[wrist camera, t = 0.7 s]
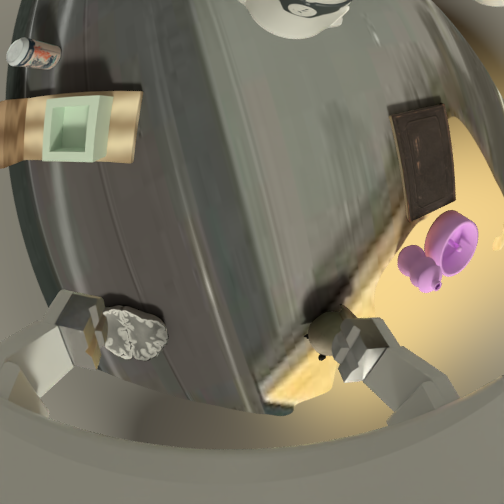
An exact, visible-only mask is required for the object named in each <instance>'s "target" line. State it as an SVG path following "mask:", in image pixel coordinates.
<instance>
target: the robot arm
mask: <svg viewBox="0 0 504 504" xmlns="http://www.w3.org/2000/svg"><path fill="white" fill-rule="evenodd" d="M238 1H239V2H241V3H242V4H244V5H245V6H246V8H247V9H248V11H249V13H250V15H251V16H252V18H253V19H254V20H255V21H256V23H257V24H259V25H260V26H261V27H262V28H264V29H265V30H267V31H268V32H270V33H272V34H275V35H277V36H280V37H284V38H290V39H303V38H308V37H312V36H314V35H316V34H318V33H320V32H321V31H323V30H324V29H326V28H331V27H337V26H339V25H341V24H342V16H343V15H344V14H345V13H346V12H347V11H348V10H349V6H348V4H350V2H351V1H352V0H238ZM474 1H476V2H478V3H480V4H483V5H487V6H495V7H504V0H474ZM104 309H105V305H104V300H103V298H101V297H97V296H92V295H87V294H83V293H78V292H72V291H67V290H61V291H60V292H59V293H58V294H57V296H56V297H55V299H54V301H53V302H52V304H51V305H50V307H49V308H48V310H47V312H46V314H45V315H44V317H43V318H42V320H41V321H35V322H33V323H32V324H30V325H28V326H26V327H25V328H23V329H21V330H20V331H18V332H16V333H15V334H13V335H11V336H9V337H8V338H6V339H4V340H3V341H1V342H0V504H504V375H501V376H499V377H498V378H496V379H494V380H493V381H491V382H489V383H487V384H486V385H484V386H482V387H480V388H479V389H477V390H475V391H473V392H471V393H469V394H467V395H465V396H463V397H461V398H460V397H459V395H458V394H457V392H456V390H455V389H454V387H453V386H452V384H451V382H450V381H449V379H448V377H447V376H446V375H445V374H444V373H442V372H441V371H439V370H438V369H436V368H435V367H433V366H432V365H430V364H429V363H427V362H426V361H425V360H423V359H422V358H420V357H418V356H417V355H416V354H414V353H413V352H411V351H410V350H408V349H407V348H405V347H404V346H401V347H400V345H399V344H398V342H397V341H396V339H395V337H394V336H393V334H392V333H391V331H390V330H389V328H388V327H387V325H386V324H385V322H384V321H383V319H381V318H346V319H345V320H344V321H343V322H342V324H341V326H340V328H341V331H340V332H339V333H338V334H336V335H335V337H334V339H333V341H332V348H331V349H332V355H333V357H334V360H335V361H337V362H338V363H339V364H340V365H339V368H338V370H339V372H340V374H341V377H342V379H343V381H344V383H346V382H357V381H363V383H365V384H366V385H367V386H368V387H369V388H370V389H371V390H372V391H373V392H374V393H375V394H376V395H377V396H378V397H379V398H381V400H382V401H383V402H384V403H386V404H387V405H388V406H389V407H390V408H391V409H392V410H393V411H394V413H393V414H392V415H391V416H390V417H389V418H388V420H387V424H388V426H387V427H383V428H380V429H376V430H373V431H369V432H365V433H361V434H358V435H353V436H348V437H344V438H339V439H334V440H329V441H323V442H317V443H311V444H303V445H296V446H287V447H276V448H263V449H236V450H235V449H234V450H224V449H221V450H220V449H196V448H182V447H172V446H163V445H155V444H148V443H142V442H136V441H130V440H125V439H120V438H115V437H111V436H106V435H103V434H98V433H95V432H91V431H87V430H83V429H80V428H77V427H74V426H70V425H67V424H64V423H61V422H59V421H55V420H53V419H50V418H48V417H49V414H50V413H49V410H48V408H47V407H46V406H45V404H44V403H43V402H42V400H41V399H40V398H41V397H42V396H43V395H44V394H45V393H46V392H47V391H48V390H49V389H50V388H51V387H52V386H54V384H56V383H57V382H58V381H59V380H60V379H61V378H62V377H63V376H64V375H66V374H67V372H69V371H70V370H71V369H72V368H73V367H74V366H78V367H82V368H86V369H91V370H97V367H98V364H99V361H100V358H101V352H100V348H101V347H103V346H104V345H105V343H106V340H107V335H108V321H107V317H106V316H105V315H104V314H103V311H104Z"/></svg>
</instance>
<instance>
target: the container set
mask: <svg viewBox="0 0 504 504" xmlns="http://www.w3.org/2000/svg"><path fill="white" fill-rule="evenodd" d="M477 243H478V229H477V226H476V224H475V223H474V222H472V221H471V220H469V219H468V218H466V217H464V216H463V215H461V214H460V213H458V212H456V211H454V210H448V211H446V212H444V213H442V214H441V215H440V216H439V217H438V218H436V220H435V221H434V222H433V224H432V225H431V227H430V229H429V231H428V233H427V237H426V240H425V244H424V251H425V253H424V251H423V250H422V249H421V248H420V247H419V246H416V245H410V246H407V247H405V248H404V249H402V250H401V252H400V253H399V256H398V268H399V270H400V271H401V273H402V274H404V275H406V276H409V277H410V280H411V282H412V284H413V285H414V286H416V287H419V290H420V291H421V292H424V293H428V292H431V291H433V290H435V291H438V290H439V289H440V288H441V285H442V283H441V282H440V281H441V278H442V274H443V275H445V276H453V275H456V274H457V273H459V272H460V271H461V270H463V269H464V268H465V266H466V265H467V264H468V262H469V261H470V260H471V258H472V256H473V254H474V252H475V249H476V246H477Z"/></svg>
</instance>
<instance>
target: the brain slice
mask: <svg viewBox="0 0 504 504" xmlns="http://www.w3.org/2000/svg"><path fill="white" fill-rule="evenodd" d="M103 314H104V315H105V316H106V317H107V321H108V335H107V340H106V343H105V345H104V346H105V347H106V348H107V349H108V350H109V351H111V352H113V353H114V354H115V355H117V356H119V357H122V358H124V359H127V360H130V359H132V358H133V356H134V357H135V358H136V359H137V360H143V361H149V360H150V359H151V358H155V357H156V356H157V355H158V352H161V351H162V349H163V348H164V346H165V345H166V344H167V343H168V339H169V336H168V332H167V328H166V325H165V324H164V322H163V321H162V320H161V319H159V318H158V317H156V316H155V315H152V314H149V313H145V312H143V311H139V310H137V309H134V308H131V307H128V306H125V307H123V306H120V305H117V306H114V307H105V309H104V311H103Z"/></svg>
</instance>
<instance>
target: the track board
mask: <svg viewBox="0 0 504 504" xmlns="http://www.w3.org/2000/svg"><path fill="white" fill-rule="evenodd" d="M94 95H102V96H111V97H113V103H112V110H111V117H110V124H109V133H108V142H107V154H106V156H105V157H103V158H101V159H99V160H97V161H104V162H120V163H132V162H133V161H134V152H135V143H136V135H137V127H138V120H139V114H140V108H141V102H142V96H143V92H141V91H95V92H77V93H65V94H56V95H47V96H40V97H33V98H26V99H13V100H5V101H1V102H0V168H5V167H8V166H10V165H12V164H15V163H17V162H20V161H22V160H42V151H43V132H44V120H45V110H46V102H47V99H53V98H63V97H75V96H94Z"/></svg>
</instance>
